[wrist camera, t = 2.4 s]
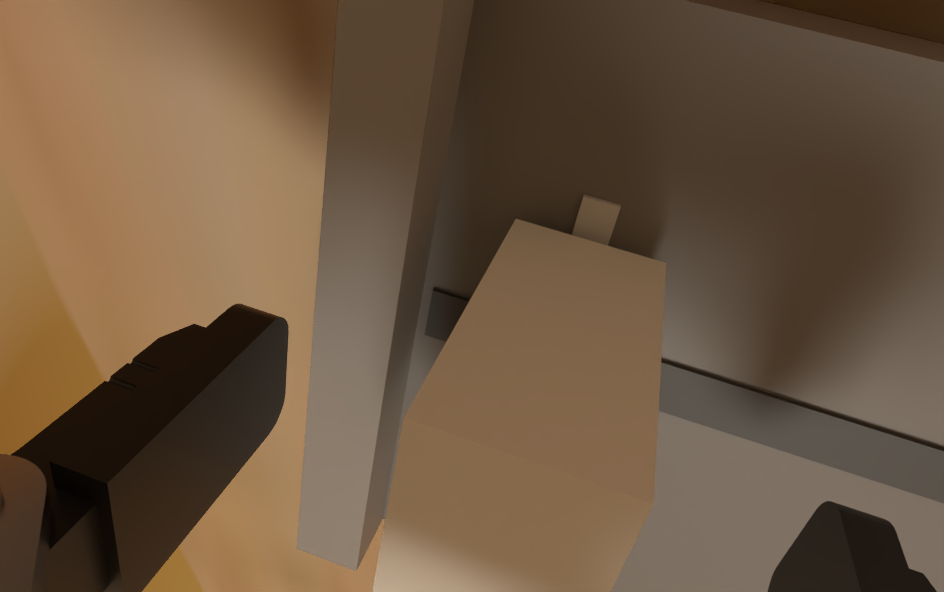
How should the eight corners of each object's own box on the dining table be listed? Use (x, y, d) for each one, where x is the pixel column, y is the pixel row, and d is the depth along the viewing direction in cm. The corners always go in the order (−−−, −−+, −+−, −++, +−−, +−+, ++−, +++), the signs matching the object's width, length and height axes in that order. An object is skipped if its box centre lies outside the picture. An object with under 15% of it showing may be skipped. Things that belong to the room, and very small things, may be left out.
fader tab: (515, 218, 10) (404, 418, 6) (666, 262, 10) (654, 503, 6) (459, 445, 13) (353, 692, 9) (577, 486, 13) (525, 763, 9)
